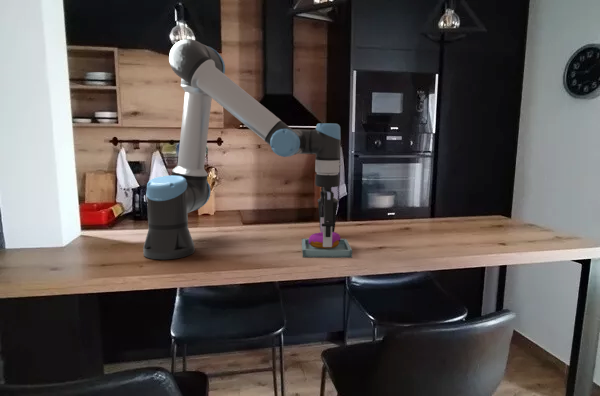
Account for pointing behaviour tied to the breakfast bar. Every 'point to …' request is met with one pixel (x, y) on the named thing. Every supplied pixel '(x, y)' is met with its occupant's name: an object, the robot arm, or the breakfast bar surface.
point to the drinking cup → (335, 203)
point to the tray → (327, 250)
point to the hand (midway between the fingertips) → (325, 241)
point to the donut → (317, 240)
